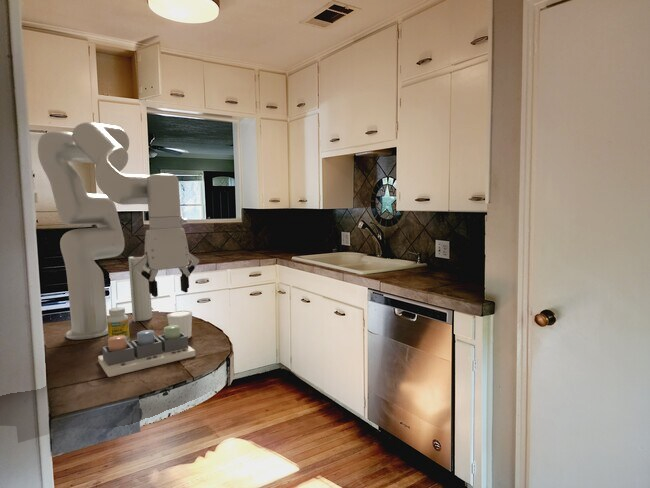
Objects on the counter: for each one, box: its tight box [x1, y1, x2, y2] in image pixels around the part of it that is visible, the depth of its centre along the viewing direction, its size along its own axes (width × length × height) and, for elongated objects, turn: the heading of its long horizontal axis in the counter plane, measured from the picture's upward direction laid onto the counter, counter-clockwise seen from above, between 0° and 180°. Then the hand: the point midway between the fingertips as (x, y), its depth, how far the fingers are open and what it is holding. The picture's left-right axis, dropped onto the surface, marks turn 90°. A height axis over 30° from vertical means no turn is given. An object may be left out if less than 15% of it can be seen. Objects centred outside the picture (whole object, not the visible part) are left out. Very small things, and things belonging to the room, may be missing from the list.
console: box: [97, 332, 196, 378], centre depth 107 cm, size 12×20×4 cm, turn 127°
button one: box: [107, 335, 127, 352], centre depth 103 cm, size 4×4×4 cm
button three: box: [163, 325, 181, 340], centre depth 111 cm, size 4×4×4 cm
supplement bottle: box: [107, 306, 131, 343], centre depth 121 cm, size 5×5×10 cm
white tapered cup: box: [166, 310, 193, 339], centre depth 124 cm, size 7×7×7 cm
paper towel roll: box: [127, 255, 153, 323], centre depth 143 cm, size 7×6×21 cm
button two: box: [136, 329, 156, 346], centre depth 107 cm, size 4×4×4 cm
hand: (169, 293), depth 110 cm, fingers open, 6 cm apart
